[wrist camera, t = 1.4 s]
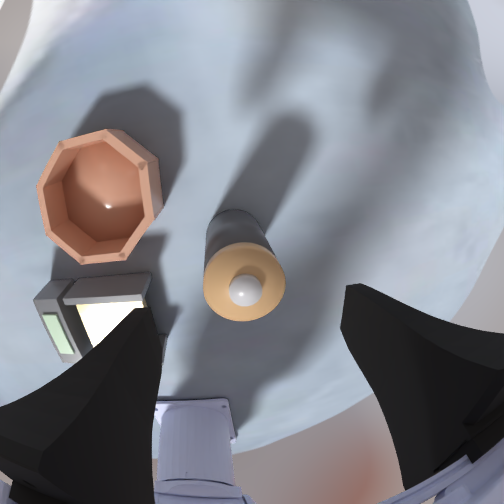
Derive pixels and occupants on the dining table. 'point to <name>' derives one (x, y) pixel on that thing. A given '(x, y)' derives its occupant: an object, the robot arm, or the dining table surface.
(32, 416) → the robot arm
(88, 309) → the plunger
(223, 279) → the cell
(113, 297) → the battery checker
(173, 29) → the dining table surface
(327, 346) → the dining table surface
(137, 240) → the cup
